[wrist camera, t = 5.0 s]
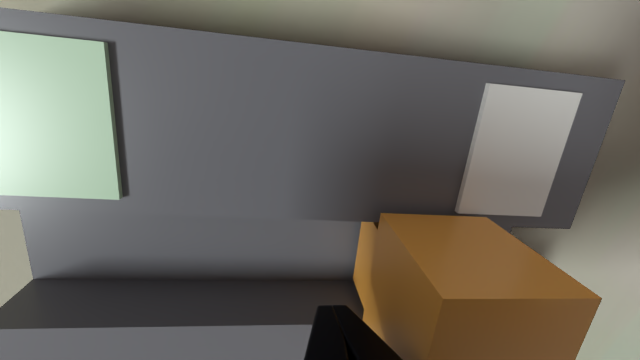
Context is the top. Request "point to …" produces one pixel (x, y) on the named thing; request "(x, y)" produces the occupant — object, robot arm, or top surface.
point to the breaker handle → (466, 292)
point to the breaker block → (250, 177)
